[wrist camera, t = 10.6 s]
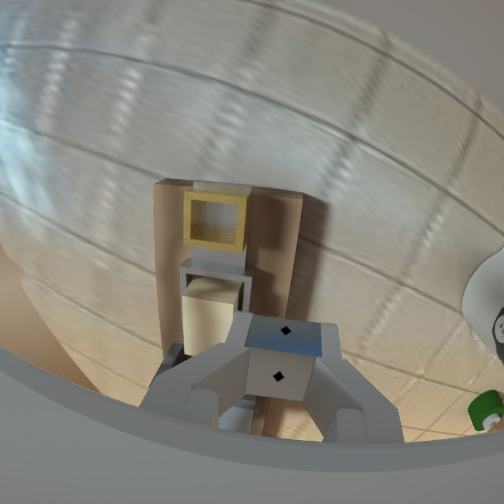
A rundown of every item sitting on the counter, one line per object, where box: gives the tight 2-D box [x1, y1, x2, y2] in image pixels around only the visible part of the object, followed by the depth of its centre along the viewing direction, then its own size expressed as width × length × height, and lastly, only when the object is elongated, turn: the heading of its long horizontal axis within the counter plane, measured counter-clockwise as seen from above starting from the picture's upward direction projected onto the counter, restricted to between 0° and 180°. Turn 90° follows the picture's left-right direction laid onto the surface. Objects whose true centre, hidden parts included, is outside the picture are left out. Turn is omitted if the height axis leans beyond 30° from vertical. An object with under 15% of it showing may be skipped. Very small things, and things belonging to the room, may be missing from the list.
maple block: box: [182, 275, 243, 356], centre depth 39 cm, size 6×9×6 cm, turn 175°
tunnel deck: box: [149, 178, 303, 435], centre depth 43 cm, size 18×54×14 cm, turn 175°
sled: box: [180, 180, 255, 342], centre depth 39 cm, size 9×32×4 cm, turn 175°
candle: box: [468, 390, 504, 431], centre depth 44 cm, size 8×8×10 cm
